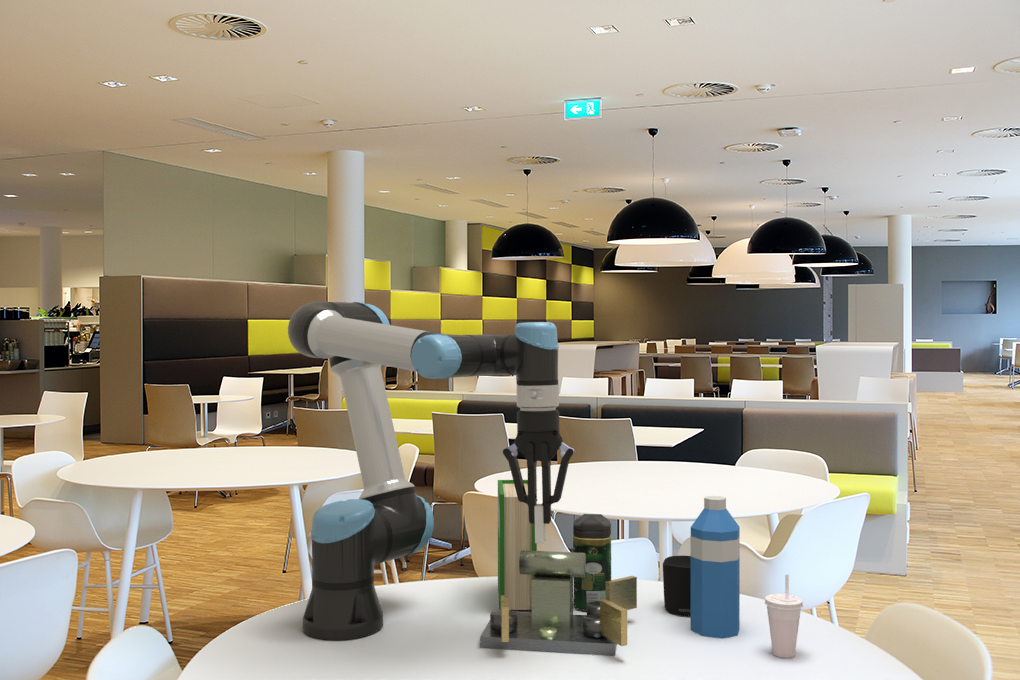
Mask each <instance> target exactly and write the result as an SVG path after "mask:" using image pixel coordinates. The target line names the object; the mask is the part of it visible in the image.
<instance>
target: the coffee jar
mask: <svg viewBox="0 0 1020 680" xmlns="http://www.w3.org/2000/svg"><path fill="white" fill-rule="evenodd" d="M572 527H573V529H572V530H573V531H572V532H573V533H572V552H577V553H585V554H586V573H585V577H573V606H574V608H576V609H577V610H581V611H586V604H587V603H589V602H593V601H600V600H603V599H606V581H610V580H612V523H611V521H610V520H609V519H608V518H607V517H606V516H604V515H603V514H600V513H583V514H582V515H581V516H578V517H576V518H575V520H574V521H573V526H572Z"/></svg>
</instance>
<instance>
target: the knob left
mask: <svg viewBox="0 0 1020 680" xmlns="http://www.w3.org/2000/svg"><path fill="white" fill-rule="evenodd" d="M495 610H496V611H495ZM495 610H492V611H491V612H490V613H489V620H490V629H491V630H493V631H497V632H501V638H502V642H509V632H511V631H514V630H516V629H517V612H518V611H517V612H515V611H516V610H509V605H508V597H507V595H501V610H499V609H498V610H497V609H495Z"/></svg>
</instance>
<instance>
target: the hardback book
mask: <svg viewBox="0 0 1020 680" xmlns="http://www.w3.org/2000/svg"><path fill="white" fill-rule="evenodd" d="M523 482H524V486H525V490H526V494H527V495H528V479H523ZM536 504H538V501H537V502H536ZM521 550H527V551H538V548H537V543H535V524H533V523H530V522H529V507H528V505H527V504H526V503H524V502H520V501H519V500H518V497H517V493H516V489H515V485H514V481H513V479H497V594H498V607H499V609H498V610H501V595H507V597H508V605H509V610H512V611H517V610H518V611H519V610H520V611H521V610H522V611H526V610H528V611H532V578H533V576H534V575H521V574H520V572H519V557H520V552H521Z"/></svg>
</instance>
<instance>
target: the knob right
mask: <svg viewBox="0 0 1020 680" xmlns="http://www.w3.org/2000/svg"><path fill="white" fill-rule="evenodd" d="M583 634H585V635H587V636H590V637H606V638H608V639H610V640H611V641H613V642H615V643H616V644H617V645H618V646H620V647H626V646H628V610H626V609H624V608H622V607H620V606H618V605H616V604H614V603H612V602H610V601H608V600H606V599H603V600H600V614H592V615H587V616H584V617H583Z"/></svg>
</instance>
